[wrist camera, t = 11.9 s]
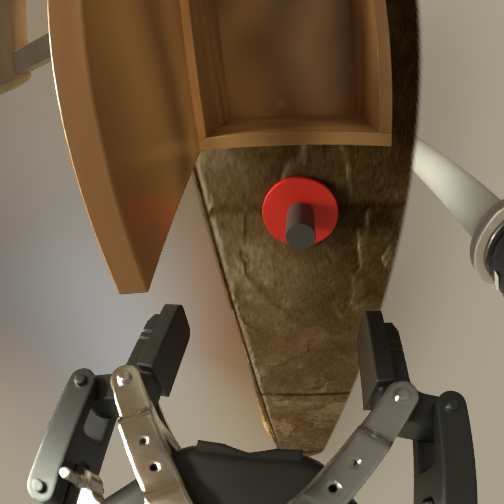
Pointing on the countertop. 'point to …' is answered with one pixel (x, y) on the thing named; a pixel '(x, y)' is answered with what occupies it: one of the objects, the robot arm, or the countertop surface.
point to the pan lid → (300, 211)
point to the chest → (289, 72)
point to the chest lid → (116, 116)
